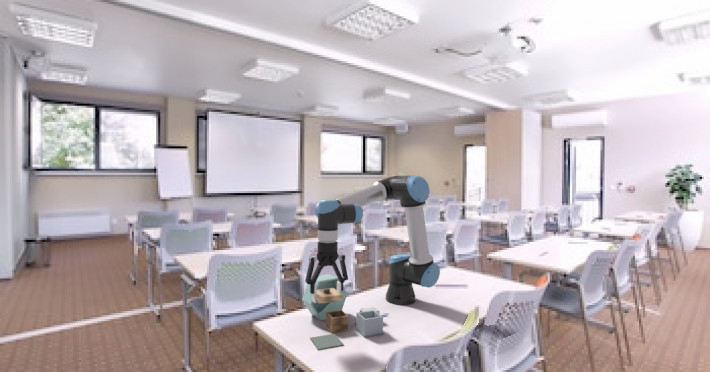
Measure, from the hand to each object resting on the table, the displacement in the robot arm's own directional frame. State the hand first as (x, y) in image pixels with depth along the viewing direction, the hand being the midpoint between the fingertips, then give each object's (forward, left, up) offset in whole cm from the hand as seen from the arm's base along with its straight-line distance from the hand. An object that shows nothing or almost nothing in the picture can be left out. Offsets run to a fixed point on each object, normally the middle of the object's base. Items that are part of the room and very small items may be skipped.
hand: (326, 300), depth 138 cm
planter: (-8, -25, -16) cm, 31 cm away
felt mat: (0, 0, -16) cm, 16 cm away
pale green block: (-24, -12, -16) cm, 31 cm away
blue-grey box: (-19, -2, -16) cm, 25 cm away
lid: (0, 0, +1) cm, 1 cm away
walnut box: (-8, -10, -16) cm, 21 cm away
